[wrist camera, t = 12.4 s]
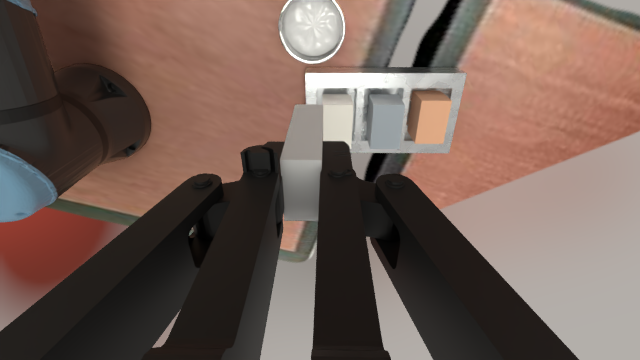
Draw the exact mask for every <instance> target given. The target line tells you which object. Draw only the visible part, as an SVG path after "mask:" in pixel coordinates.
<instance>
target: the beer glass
mask: <svg viewBox="0 0 640 360" xmlns="http://www.w3.org/2000/svg"><path fill="white" fill-rule="evenodd" d="M345 30H346V20H345V15H344V11H343V9H342V6H341V5H340V3H339V2H338V0H288V1H287V2H286V4H285V5H284V7H283V9H282V11H281V13H280V17H279V22H278V31H279V36H280V40H281V42H282V45H283V46H284V48H285V50H286V51H287V52H288V53H289V54H290V55H291V56H292V57H293V58H294V59H296V60H298V61H300V62H302V63H306V64H319V63H322V62H325V61H327V60H329V59H330V58H332V57H333V56H334V55H335V54H336V53H337V52H338V50H339V49H340V47H341V45H342V43H343V40H344V37H345Z"/></svg>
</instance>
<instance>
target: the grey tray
mask: <svg viewBox="0 0 640 360" xmlns="http://www.w3.org/2000/svg"><path fill="white" fill-rule="evenodd" d="M466 75H467V73H465V72H464V71H462V70H460V69H458V68H457V67H307V68H306V72H305V86H306V104H311V105H322V98H323V94H351V97H352V101H353V123H352V143H351V149H350V153H449V151H450V146H451V142H452V137H453V133H454V128H455V124H456V119H457V115H458V110H459V106H460V101H461V97H462V92H463V88H464V84H465V79H466ZM413 91H441V92H442V93H444V94H445V95H446V96H447V97H448V98H449V99H451V100H452V104H451V109H450V113H449V118H448V123H447V128H446V133H445V137H444V142H443V144H415V143H414V141H413V140H412V138H411V136H410V135H409V133H408V131H407V129H408V122H409V115H410V108H411V101H412V94H413ZM369 94H398V96H399V97H400V98H401V100H402V101H403V103H404V104H405V110H404V117H403V125H402V132H401V139H400V147H399V149H370V147H369V143H368V140H367V136H366V131H367V118H368V104H369Z"/></svg>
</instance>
